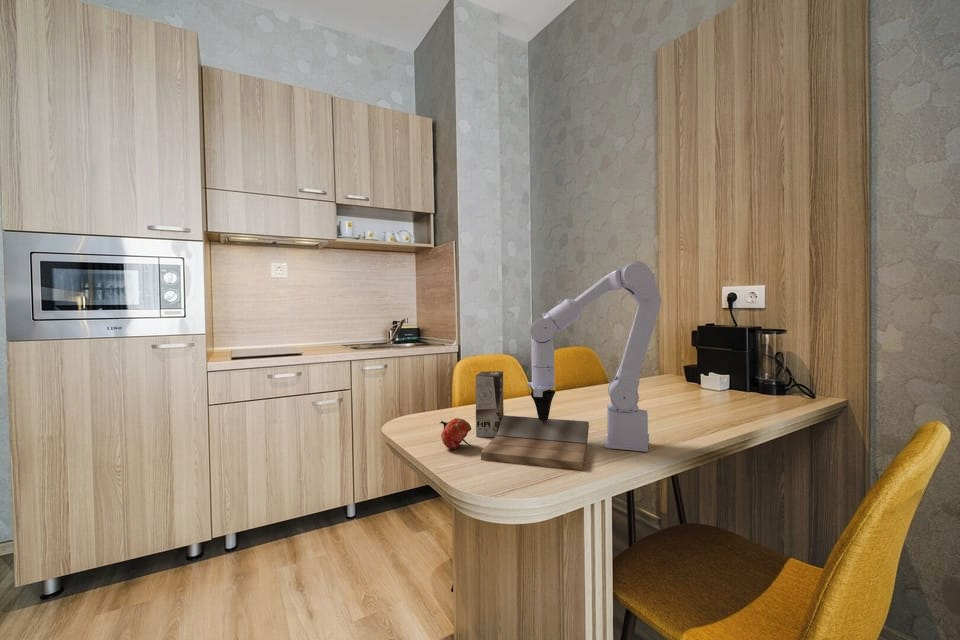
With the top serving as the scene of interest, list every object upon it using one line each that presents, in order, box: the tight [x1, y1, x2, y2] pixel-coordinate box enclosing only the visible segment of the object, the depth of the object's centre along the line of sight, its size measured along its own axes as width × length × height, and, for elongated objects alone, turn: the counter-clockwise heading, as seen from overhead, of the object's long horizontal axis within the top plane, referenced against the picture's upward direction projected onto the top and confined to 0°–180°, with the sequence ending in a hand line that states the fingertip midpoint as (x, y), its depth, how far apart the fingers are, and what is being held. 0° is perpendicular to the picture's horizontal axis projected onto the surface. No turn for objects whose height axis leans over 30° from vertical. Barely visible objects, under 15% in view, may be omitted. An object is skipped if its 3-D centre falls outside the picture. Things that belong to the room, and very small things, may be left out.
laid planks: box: [480, 436, 588, 471], centre depth 97 cm, size 22×12×2 cm, turn 71°
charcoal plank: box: [497, 414, 590, 445], centre depth 106 cm, size 22×7×2 cm
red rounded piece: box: [439, 417, 474, 451], centre depth 103 cm, size 7×7×10 cm
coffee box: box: [474, 370, 505, 439], centre depth 114 cm, size 9×6×16 cm
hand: (543, 419), depth 107 cm, fingers closed
